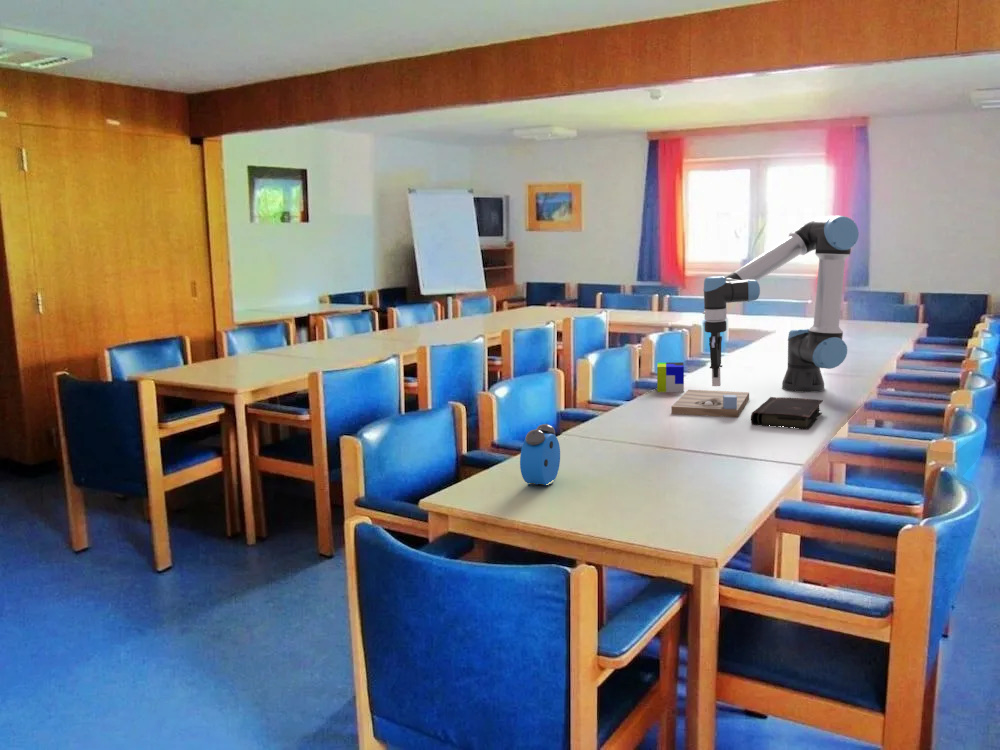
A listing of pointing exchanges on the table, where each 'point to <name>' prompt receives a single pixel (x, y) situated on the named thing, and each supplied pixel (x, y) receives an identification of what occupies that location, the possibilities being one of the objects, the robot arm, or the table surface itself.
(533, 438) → the alarm clock
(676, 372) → the puzzle toy
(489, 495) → the table surface
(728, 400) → the blue block
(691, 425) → the table surface
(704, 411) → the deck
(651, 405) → the table surface
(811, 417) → the diary
